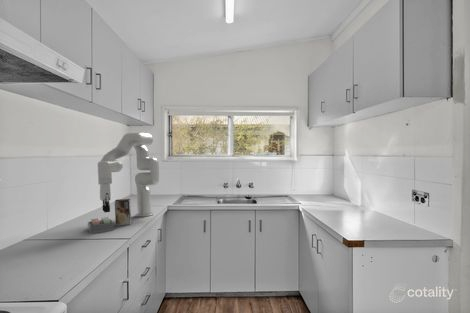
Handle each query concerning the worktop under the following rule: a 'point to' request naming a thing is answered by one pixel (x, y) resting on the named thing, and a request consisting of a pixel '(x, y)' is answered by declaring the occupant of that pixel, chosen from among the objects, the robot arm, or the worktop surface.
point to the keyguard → (101, 227)
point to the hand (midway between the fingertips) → (106, 211)
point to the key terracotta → (95, 222)
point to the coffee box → (122, 212)
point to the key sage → (106, 221)
